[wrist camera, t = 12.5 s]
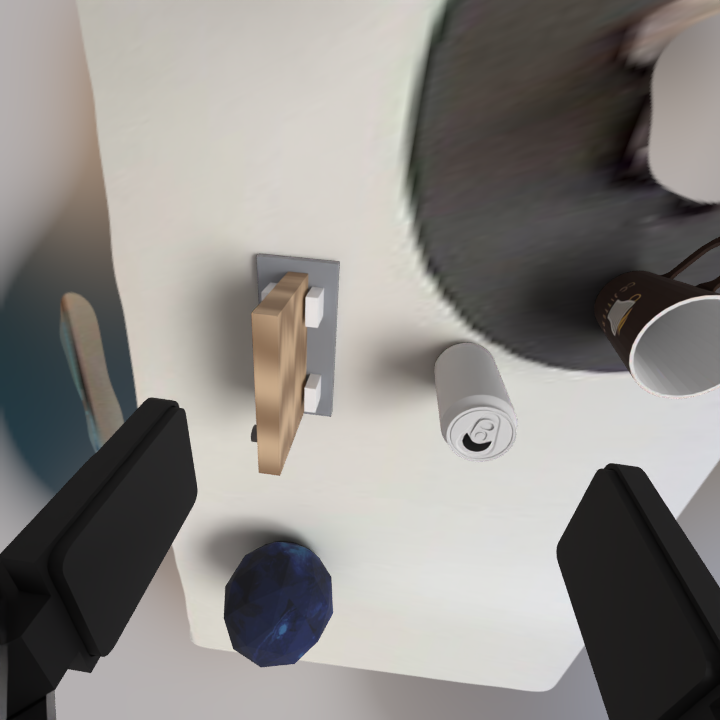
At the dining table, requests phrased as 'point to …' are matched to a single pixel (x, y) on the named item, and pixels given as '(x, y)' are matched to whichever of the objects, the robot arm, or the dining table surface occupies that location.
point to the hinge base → (311, 321)
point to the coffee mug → (665, 329)
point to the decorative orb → (277, 603)
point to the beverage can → (473, 403)
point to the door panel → (279, 369)
